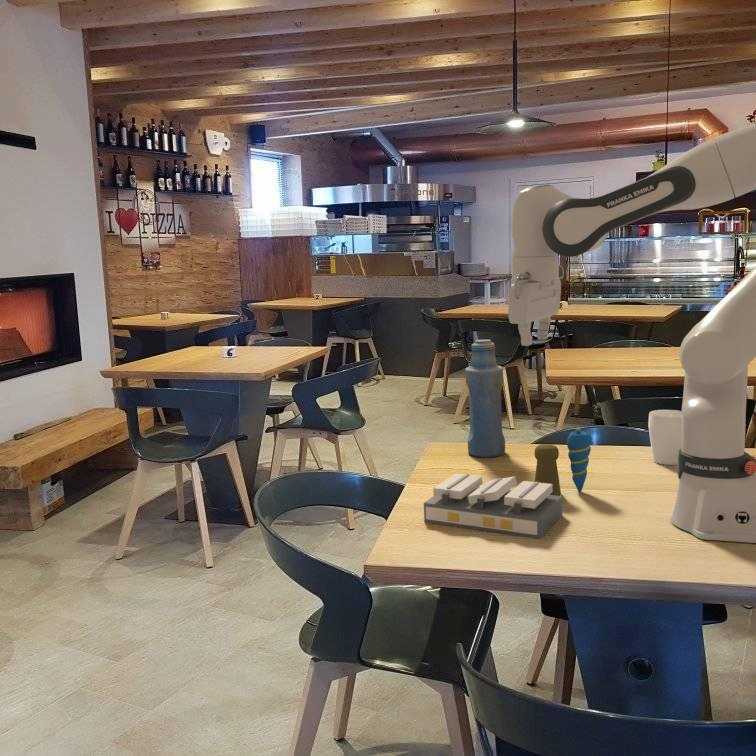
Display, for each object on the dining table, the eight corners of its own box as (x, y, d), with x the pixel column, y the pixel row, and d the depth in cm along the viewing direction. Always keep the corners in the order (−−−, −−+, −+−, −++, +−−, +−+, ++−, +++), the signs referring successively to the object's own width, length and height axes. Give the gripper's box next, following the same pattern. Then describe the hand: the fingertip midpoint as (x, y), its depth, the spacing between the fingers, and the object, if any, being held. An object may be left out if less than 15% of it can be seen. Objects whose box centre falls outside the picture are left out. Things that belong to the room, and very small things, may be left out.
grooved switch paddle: (482, 483, 167) (482, 474, 166) (460, 499, 157) (460, 490, 157) (456, 480, 170) (456, 471, 169) (433, 496, 160) (432, 486, 160)
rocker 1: (517, 483, 163) (514, 474, 163) (496, 500, 153) (494, 490, 153) (490, 487, 166) (488, 479, 166) (469, 504, 156) (466, 494, 156)
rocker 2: (552, 491, 159) (552, 482, 159) (534, 508, 150) (534, 499, 149) (523, 488, 162) (523, 479, 162) (503, 505, 153) (503, 495, 152)
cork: (541, 488, 178) (540, 440, 177) (566, 492, 175) (565, 443, 173) (527, 495, 174) (527, 446, 172) (553, 500, 170) (552, 450, 168)
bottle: (507, 457, 205) (505, 341, 200) (469, 459, 205) (466, 343, 200) (502, 448, 214) (500, 337, 209) (465, 449, 214) (462, 338, 210)
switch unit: (562, 515, 161) (562, 485, 160) (539, 539, 148) (539, 507, 147) (453, 501, 172) (452, 473, 171) (423, 522, 160) (422, 492, 159)
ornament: (595, 491, 175) (595, 424, 172) (584, 497, 171) (584, 428, 169) (574, 486, 178) (574, 421, 176) (562, 492, 175) (562, 426, 172)
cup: (690, 458, 196) (691, 411, 194) (682, 468, 189) (683, 418, 187) (653, 455, 201) (653, 408, 199) (643, 464, 194) (644, 415, 192)
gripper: (532, 274, 144) (532, 349, 147) (566, 268, 162) (565, 336, 164) (499, 274, 148) (500, 348, 150) (536, 269, 165) (536, 335, 167)
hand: (534, 342), depth 157 cm, fingers open, 8 cm apart
